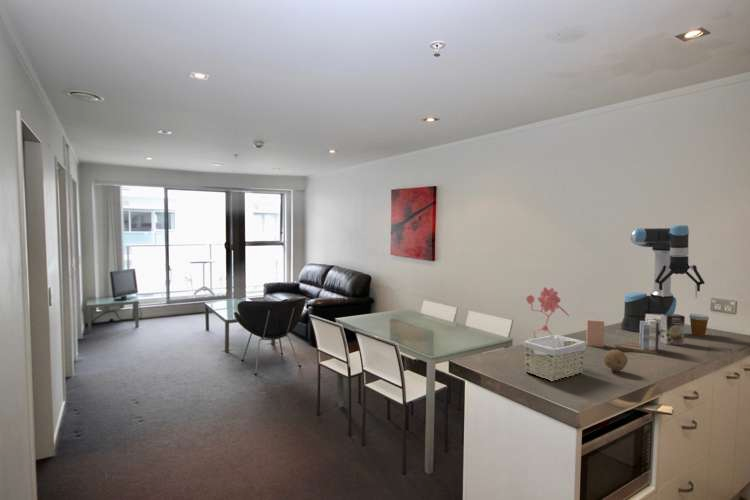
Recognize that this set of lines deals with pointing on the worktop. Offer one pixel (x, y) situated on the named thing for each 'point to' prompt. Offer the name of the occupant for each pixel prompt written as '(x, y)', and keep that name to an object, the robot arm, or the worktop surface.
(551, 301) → the figurine
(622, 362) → the natural sponge
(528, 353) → the storage basket
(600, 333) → the terracotta book
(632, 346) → the book rack
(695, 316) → the disposable coffee cup
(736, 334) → the worktop surface
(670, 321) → the coffee box
